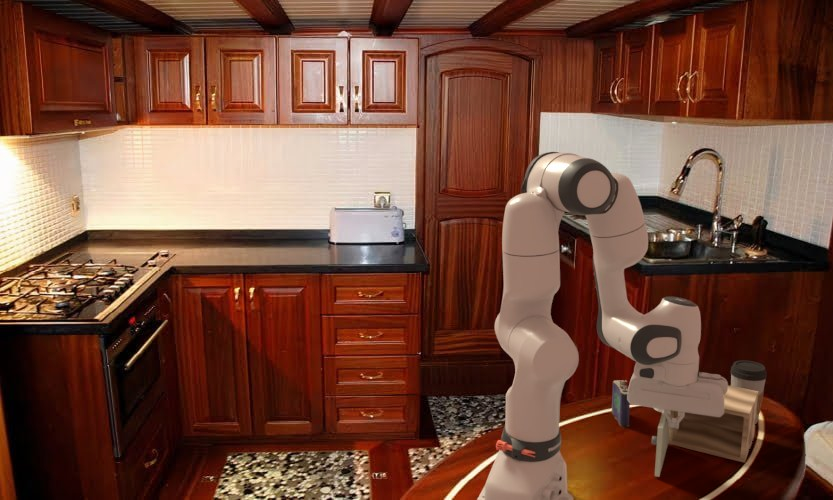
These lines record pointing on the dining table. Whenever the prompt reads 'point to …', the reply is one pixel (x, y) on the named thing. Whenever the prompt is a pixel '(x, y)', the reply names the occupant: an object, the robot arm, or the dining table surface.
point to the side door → (661, 443)
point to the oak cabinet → (720, 427)
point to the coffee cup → (749, 378)
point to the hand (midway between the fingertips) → (673, 427)
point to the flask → (620, 403)
